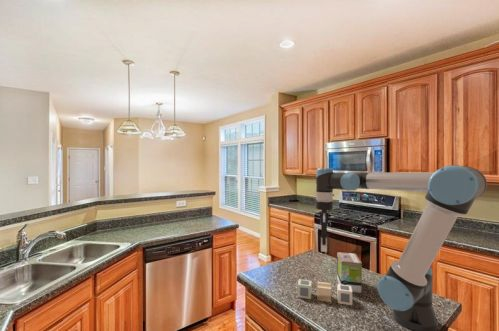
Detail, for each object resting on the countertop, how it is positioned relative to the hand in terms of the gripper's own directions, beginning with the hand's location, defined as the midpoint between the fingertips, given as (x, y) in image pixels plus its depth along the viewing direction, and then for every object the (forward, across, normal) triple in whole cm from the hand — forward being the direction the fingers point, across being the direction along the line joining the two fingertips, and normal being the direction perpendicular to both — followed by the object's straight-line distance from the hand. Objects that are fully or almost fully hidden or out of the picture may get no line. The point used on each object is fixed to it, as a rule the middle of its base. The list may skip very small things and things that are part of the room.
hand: (323, 251), depth 118 cm
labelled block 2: (+22, 0, -9) cm, 24 cm away
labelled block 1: (+22, 0, +9) cm, 23 cm away
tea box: (+22, +17, -12) cm, 30 cm away
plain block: (+22, 0, 0) cm, 22 cm away
